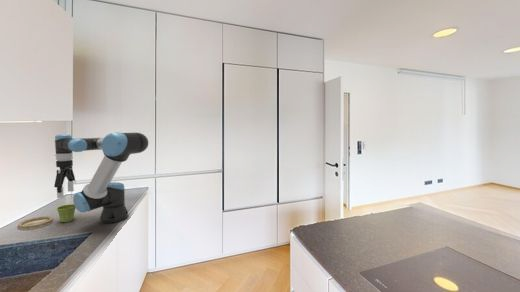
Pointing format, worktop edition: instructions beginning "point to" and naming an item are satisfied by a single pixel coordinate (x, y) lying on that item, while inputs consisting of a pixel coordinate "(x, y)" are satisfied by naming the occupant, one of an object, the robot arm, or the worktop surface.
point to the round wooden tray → (35, 223)
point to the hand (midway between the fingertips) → (65, 194)
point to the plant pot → (66, 212)
